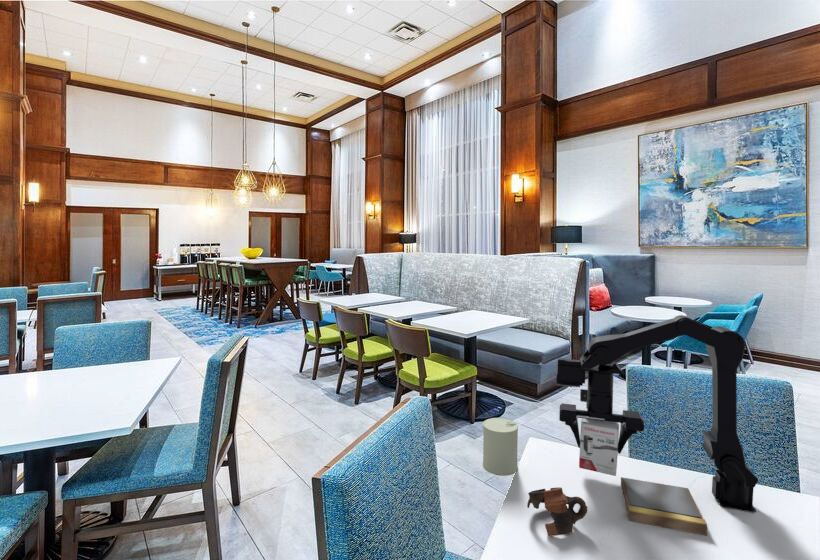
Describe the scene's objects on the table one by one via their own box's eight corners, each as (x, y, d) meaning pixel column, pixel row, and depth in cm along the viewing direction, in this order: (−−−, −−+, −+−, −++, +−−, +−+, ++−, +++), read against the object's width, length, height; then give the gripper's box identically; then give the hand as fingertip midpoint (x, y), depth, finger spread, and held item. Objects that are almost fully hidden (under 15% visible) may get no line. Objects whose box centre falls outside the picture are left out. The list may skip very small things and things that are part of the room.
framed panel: (687, 496, 97) (688, 487, 97) (706, 535, 84) (707, 524, 84) (620, 485, 102) (621, 476, 102) (628, 520, 89) (629, 510, 88)
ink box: (578, 468, 104) (579, 422, 103) (580, 459, 108) (581, 415, 107) (616, 477, 100) (618, 429, 99) (617, 467, 104) (619, 422, 103)
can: (523, 474, 107) (524, 428, 106) (489, 477, 106) (489, 431, 105) (509, 456, 116) (509, 414, 115) (477, 459, 115) (478, 417, 114)
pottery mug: (533, 539, 84) (523, 494, 87) (535, 532, 92) (525, 490, 96) (595, 532, 81) (582, 485, 85) (591, 525, 90) (579, 483, 93)
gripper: (637, 382, 107) (635, 441, 108) (560, 375, 113) (559, 431, 115) (645, 397, 96) (643, 462, 98) (559, 388, 103) (558, 449, 104)
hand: (598, 449), depth 104 cm, fingers closed on ink box, 9 cm apart
